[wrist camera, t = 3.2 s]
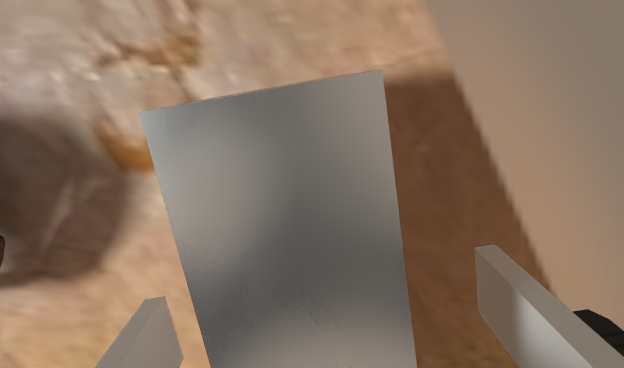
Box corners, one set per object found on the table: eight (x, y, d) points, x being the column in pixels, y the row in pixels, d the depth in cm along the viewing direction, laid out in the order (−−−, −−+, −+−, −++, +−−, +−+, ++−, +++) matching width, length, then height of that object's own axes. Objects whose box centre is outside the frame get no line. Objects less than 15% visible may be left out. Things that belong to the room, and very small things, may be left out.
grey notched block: (244, 91, 17) (138, 112, 6) (335, 75, 17) (382, 69, 6) (307, 390, 21) (306, 706, 10) (380, 379, 21) (454, 688, 10)
